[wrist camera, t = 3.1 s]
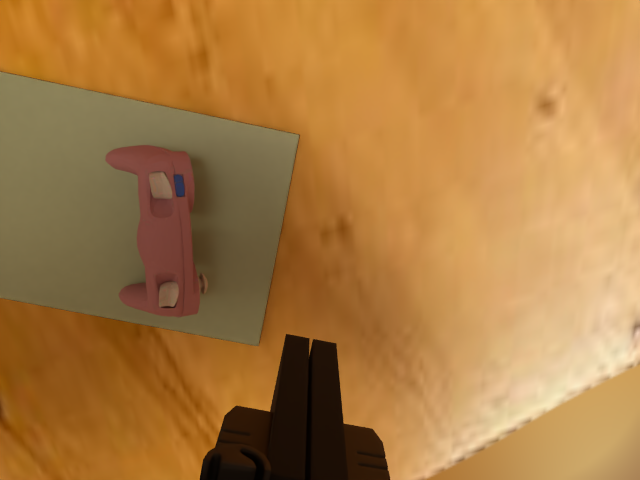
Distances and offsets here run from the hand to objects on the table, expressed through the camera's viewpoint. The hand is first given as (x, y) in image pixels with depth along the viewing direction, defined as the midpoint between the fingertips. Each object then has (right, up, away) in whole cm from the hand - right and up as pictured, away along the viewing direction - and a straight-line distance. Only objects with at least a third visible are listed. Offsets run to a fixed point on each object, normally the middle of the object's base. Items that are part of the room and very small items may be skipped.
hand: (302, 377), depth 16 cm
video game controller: (-9, +6, +15) cm, 19 cm away
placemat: (-19, +8, +15) cm, 25 cm away
